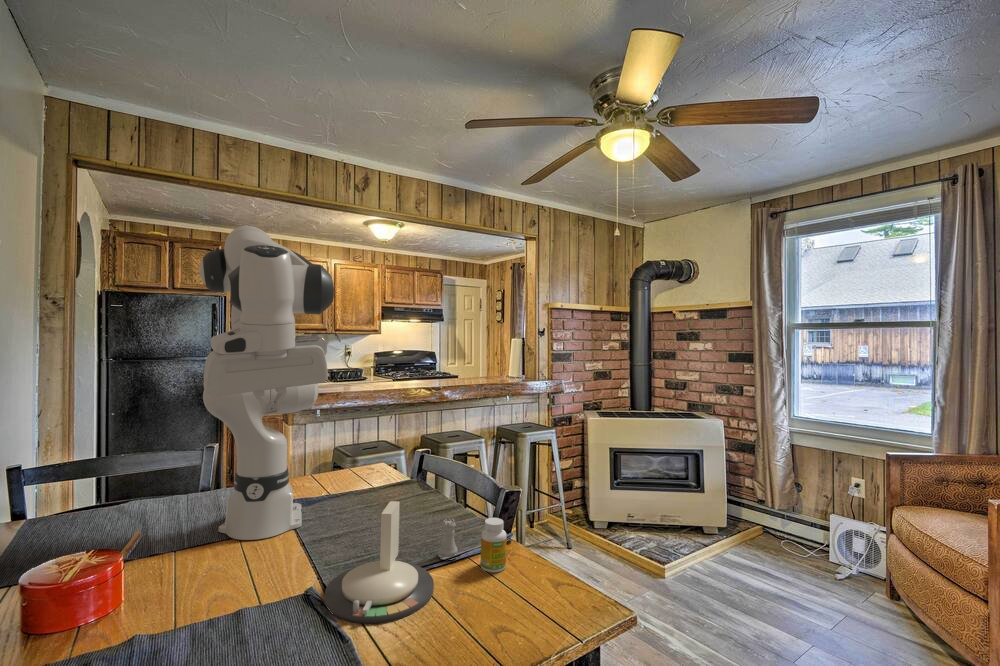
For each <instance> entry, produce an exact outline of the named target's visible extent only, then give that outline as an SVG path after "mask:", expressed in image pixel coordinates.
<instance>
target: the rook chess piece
mask: <svg viewBox="0 0 1000 666" xmlns="http://www.w3.org/2000/svg"><path fill="white" fill-rule="evenodd" d="M456 526H457V524H456V522H455V519H454V518H452V519H451V518H448V519H447V518H444V520H443V521H442V523H441V528H442V531H441V532H442V541H441V544H440V547H439V548H438V550H437V551H438V553H439V554H440V555H441V556H444V557H452V556H454V555H455V554H456V553H458V550H459V549H458V547H457V544H456V543H455V532H456V531H455V527H456Z"/></svg>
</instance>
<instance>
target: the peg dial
mask: <svg viewBox="0 0 1000 666" xmlns="http://www.w3.org/2000/svg"><path fill="white" fill-rule="evenodd" d="M400 505H401V504H400V501H397V500H395V501H394V500H391V501H389V502H388V504H387V505H386V507H385V508H384V509H383V510H382V512H381V515H380V549H379V550H380V551H379V553H380V554H379V555H380V556H379V557H380V558H379V560H376V561H371V562H366V563H363V564H361V565H357V566H358V567H357V566H355V567H356V568H354V567H353V568H354V569H352V570H351V571H349V572H348V573H347V574H346V575H345V576H344V578H343V580H342V593H343V595H344V596H345V598H347V599H348V600H350V601H351V602H353V601H355V600H359V604H362V605H365V606H364V608H363V610H362V614H367V613H368V611H369V609H370V607H371V605H383V604H389V603H393V602H396V601H399V600H401V599H403V598H405V597H407V596H409V595H410V594H411V593H412V592H413V591H414V590H415V589H416V587H417V585H418V572H417V570H416V569H415V568H414V567H413V566H411V565H409V564H407V563H408V562H406V563H404V562H405V561H400V560H396V559H397V557H398V555H399V546H400V544H399V541H400Z"/></svg>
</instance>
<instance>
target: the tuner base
mask: <svg viewBox="0 0 1000 666" xmlns="http://www.w3.org/2000/svg"><path fill="white" fill-rule="evenodd" d="M403 562H404V563H407V564H409V565H411V566H413V567H414V568H415V569H416V570H417V572H418V585H417V587H416V589H415V590H414V591H413V592H412V593H411V594H410V595H409V596H407V597H405V598H403V599H401V600H399V601H396V602H393V603H389V604H383V605H371V607H370V609H369V611H368V613H367V614H362V610H363V608H364V606H365V605H362V604H359V600H355V601H353V602H351V601H350V600H348V599H347V598H345V596H344V595H343V593H342V580H343V578H344V576H345V575H346V574H347V573H348V572H349V571H351V570H352V569H354V568H356V567H358V566H359V565H357V566H353V567H352V568H349V569H346V570H345V571H343V572H342V573H340V574H338V575H337V576H335V577H334V578H333V579H332V580H331V581H330V582H329V583H328V584H327V586H326V588H325V591H324V598H323V599H324V601H323V602H324V605H326V606H327V607H328V608H329V609H330V611H331V612H332V613H333V616H334V617H335V618H337V619H339V620H342V621H344V622H349V623H353V624H363V625H370V624H371V625H375V624H377V625H378V624H384V623H389V622H393V621H398V620H401V619H403V618H407V617H408V616H410V615H413V614H415V613H416V612H418V611H420V610H421V609H422V608H424V607H425V606H426V605H427V604H428V603H429V601H430V600H431V599H432V597H433V595H434V594H433V593H434V591H435V590H434V589H435V587H434V585H435V583H434V579H433V576H432V575H431V574H430V572H428V570H426V569H424V567H421V566H420V565H416V564H414V563H411V562H405V561H403Z"/></svg>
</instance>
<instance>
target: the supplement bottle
mask: <svg viewBox="0 0 1000 666" xmlns="http://www.w3.org/2000/svg"><path fill="white" fill-rule="evenodd" d="M504 525H505V524H504V520H503V519H501V518H499V517H489V518H486V519H485V520H484V529H483V531H482V532H481V537H480V568H481V570H483V571H485V572H487V573H499V572H502V571H503V570H505V569H506V566H507V539H508V538H507V532H506V531H505V530H504Z"/></svg>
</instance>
